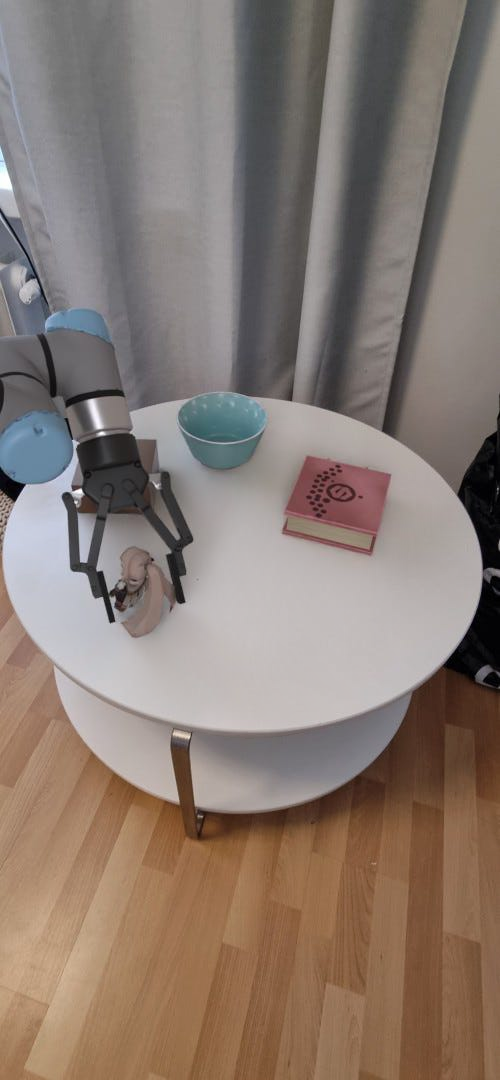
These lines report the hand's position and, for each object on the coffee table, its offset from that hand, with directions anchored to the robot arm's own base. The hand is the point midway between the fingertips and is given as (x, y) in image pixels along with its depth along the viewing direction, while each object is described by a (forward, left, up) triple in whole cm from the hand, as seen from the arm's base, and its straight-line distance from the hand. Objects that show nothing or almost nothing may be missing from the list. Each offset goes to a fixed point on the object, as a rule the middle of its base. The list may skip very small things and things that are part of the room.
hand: (147, 611), depth 75 cm
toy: (-1, +3, -5) cm, 6 cm away
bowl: (+9, +39, -5) cm, 40 cm away
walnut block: (-8, +29, -5) cm, 31 cm away
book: (+28, +24, -5) cm, 37 cm away
